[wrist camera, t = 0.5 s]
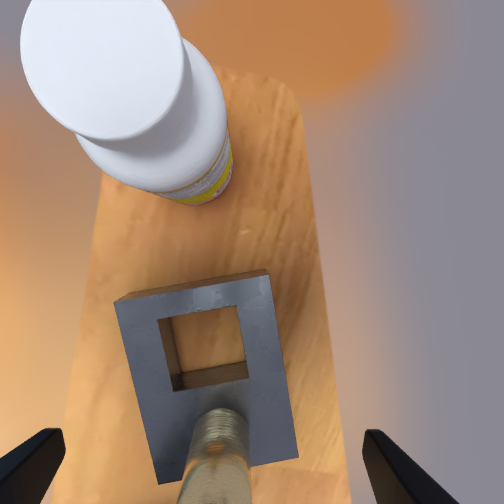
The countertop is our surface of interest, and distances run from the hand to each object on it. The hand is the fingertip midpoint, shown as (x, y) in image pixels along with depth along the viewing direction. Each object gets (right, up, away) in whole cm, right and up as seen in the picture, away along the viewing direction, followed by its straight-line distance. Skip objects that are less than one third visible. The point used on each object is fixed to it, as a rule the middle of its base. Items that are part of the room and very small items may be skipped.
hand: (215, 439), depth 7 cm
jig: (-2, -5, +14) cm, 15 cm away
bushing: (-1, -9, +13) cm, 16 cm away
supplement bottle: (-4, +13, +13) cm, 18 cm away
